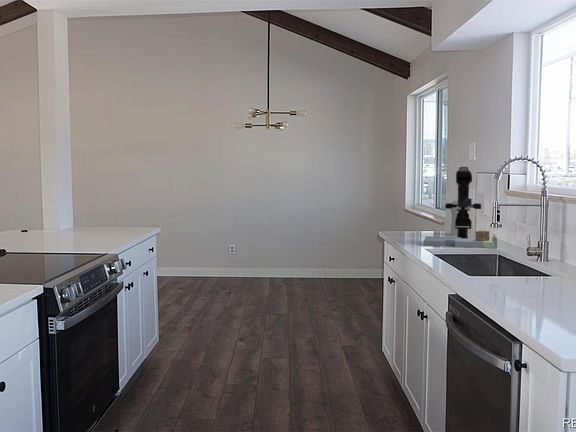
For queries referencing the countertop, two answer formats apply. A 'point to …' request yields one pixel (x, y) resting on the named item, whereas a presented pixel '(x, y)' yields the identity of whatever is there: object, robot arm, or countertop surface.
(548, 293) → the countertop surface
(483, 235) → the block
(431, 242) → the deck
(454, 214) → the tall pale column
